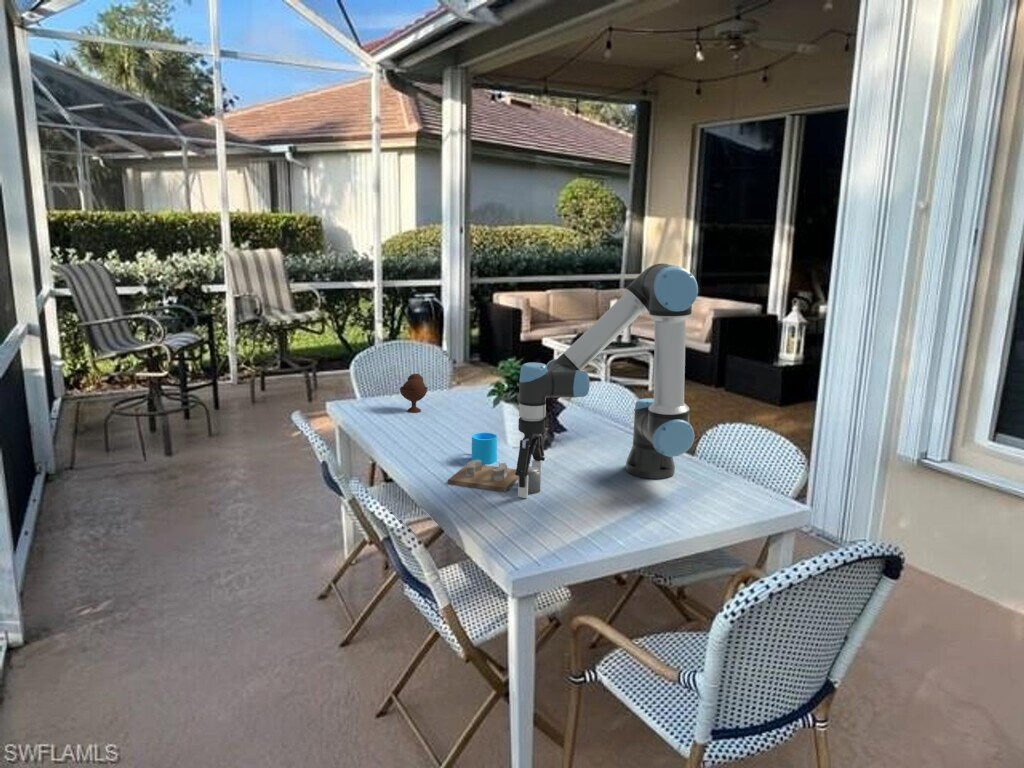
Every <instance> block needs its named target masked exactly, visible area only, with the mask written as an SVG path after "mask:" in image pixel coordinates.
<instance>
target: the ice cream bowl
mask: <svg viewBox="0 0 1024 768" xmlns="http://www.w3.org/2000/svg"><path fill="white" fill-rule="evenodd" d="M428 389H429V387H428V386H426V384H425V383H424V378H423V376H422V375H421V374H420V373H419V374H418V373H412V374H410V375H409V376H408V377H407V381H405V382H404V383H403V385H402V386H401V387H400V388H399V391H400V394H401V396H402V397H403V398H404V399H406V400H407V401H409V402H411V406H410V407H409V408H408V409H407V411H406V412H408V413H411V414H416V413H421V411H422V409H420V408H419V407H417V402H418V401H419V402H420V401H421V400H423V398H424V397H425V396H426V394H427V392H428Z"/></svg>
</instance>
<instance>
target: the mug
mask: <svg viewBox="0 0 1024 768" xmlns="http://www.w3.org/2000/svg"><path fill="white" fill-rule="evenodd" d="M477 459H478V460H480V461H482V465H493V464H495V463H496V462H497V460H498V435H497V434H495V433H493V432H476V433H474V434H472V435H471V461H473V460H477Z"/></svg>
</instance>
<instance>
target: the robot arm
mask: <svg viewBox="0 0 1024 768" xmlns="http://www.w3.org/2000/svg"><path fill="white" fill-rule="evenodd" d="M698 293H699V287H698V282H697V279H696V278H695V276H694V275H693V274H692V273H691V272H690V271H689V270H687V269H685V268H684V267H682V266H679V265H673V264H667V263H663V262H662V263H655V264H652V265H651V266H649V267H647V268H646V269H644V271H642V272H641V273H640V274H639V275H638V276H637V277H636V278H634V280H632V282H631V283H630V284H628V286H627V287H626V288H624V292H623V295H622V296H621V297H620V298H619V299H618V300H617V301H616V302H615V303H614V304H613V305H612V306H611V307H610V308H608V310H607V311H606V312H604V313H603V314H602V316H600V317H599V318H598V319H597V320H596V321H595V322H594V323H593V324H592V325H591V326H590V327H589V328H588V329H587V330H586V331H585V332H584V333H583V334H582V335H580V337H579V338H577V339H576V340H575V342H573V343H572V344H571V345H570V346H569V347H568V348H567V349H566V350H565V351H564V352H563V353H562V354H561V355H559V357H557V358H555V359H551V360H549V361H548V362H547V363H546V364H545V363H542V362H534V361H533V362H526V363H523V364H522V365H521V367H520V373H519V379H518V380H519V389H518V390H519V397H518V399H519V401H518V403H519V404H518V405H517V408H518V417H519V418H518V425H517V426H518V428H517V429H518V431H519V432H520V433H522V434H524V436H523V438H522V439H519V440H520V441H519V449H518V457H517V462H516V463H517V464H516V468H515V469H516V472H515V475H517V476H518V480H517V498H521V499H522V498H523V499H528V498H529V496H528V495H529V494H528V475H527V473H528V469H529V466H530V464H531V467H537V468H538V469H540V470H541V471H542V463H543V462H544V461H545V460H546V459H545V458H546V457H544V456H545V451H544V449H545V448H544V440H543V433H544V432H545V431H546V419H545V418H546V411H547V410H546V407H547V402H546V401H547V398H574V399H576V398H584V397H587V396H588V395H589V392H590V376H589V373H588V372H587V371H586V370H583V369H585V368H586V367H587V366H588V365H589V364H590V363H591V362H592V361H593V360H594V359H595V358H596V357H597V356H598V355H599V354H600V353H602V352H603V351H604V350H605V349H606V347H609V345H610V344H611V343H612V342H613V341H614V340H615V339H616V338H617V337H618V336H620V334H621V333H623V331H625V330H626V329H627V328H628V327H629V326H630V325H631V324H632V323H633V322H634V321H635V320H636V319H637V318H638V317H639V316H640V315H642V314H646V313H647V314H648V315H649V316H650V317H651V318H652V319H653V321H654V340H653V341H654V343H653V344H654V347H653V348H654V350H653V351H654V355H653V357H654V359H653V361H654V362H653V398H651V397H650V398H639V399H638V400H636V402H635V404H634V409H633V412H634V415H633V416H634V418H633V433H632V434H633V435H632V436H633V437H632V446H631V449H630V451H629V454H628V456H627V459H626V461H625V470H626V472H628V474H630V475H632V476H636V477H639V478H645V479H654V480H655V479H656V480H657V479H666V477H667V478H670V477H672V476H673V474H674V475H675V472H676V471H675V470H676V465H675V460H674V458H676V457H678V456H682V455H683V454H685V453H686V452H687V451H689V450H690V449H691V448H692V446H693V443H694V441H695V431H694V428H693V426H692V425H691V423H690V407H689V406H688V405H687V404H686V403H685V379H686V377H685V373H686V371H685V370H686V368H685V367H686V336H687V335H686V332H687V331H686V327H687V326H686V324H687V323H686V322H687V320H688V319H689V318H690V317H691V316H692V311H693V310H692V308H693V304H694V303H695V302H696V301H697V297H698ZM648 312H649V313H648ZM531 459H533V460H532V461H531ZM521 471H523V472H521Z"/></svg>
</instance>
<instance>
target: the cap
mask: <svg viewBox="0 0 1024 768" xmlns="http://www.w3.org/2000/svg"><path fill="white" fill-rule="evenodd" d="M521 472H523V471H521ZM527 475H528V495H533V494H534V495H535V494H540V493H541V485H542V484H541V483H542V469H541V470H540V469H538V468H537V467H532V465H529V469H528V473H527Z"/></svg>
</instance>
